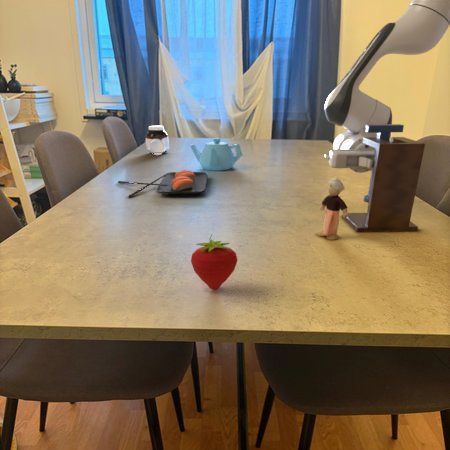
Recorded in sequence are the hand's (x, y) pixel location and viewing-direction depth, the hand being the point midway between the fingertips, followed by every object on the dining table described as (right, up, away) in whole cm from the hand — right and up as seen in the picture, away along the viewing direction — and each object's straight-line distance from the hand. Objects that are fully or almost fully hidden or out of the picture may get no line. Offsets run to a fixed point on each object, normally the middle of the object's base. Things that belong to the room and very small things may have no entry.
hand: (380, 164), depth 101 cm
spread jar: (-67, +35, +98) cm, 124 cm away
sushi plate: (-58, +4, +38) cm, 69 cm away
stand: (0, -14, +2) cm, 14 cm away
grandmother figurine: (-13, -18, -6) cm, 24 cm away
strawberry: (-38, -30, -29) cm, 57 cm away
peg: (0, -8, +5) cm, 9 cm away
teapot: (-40, +19, +67) cm, 80 cm away
